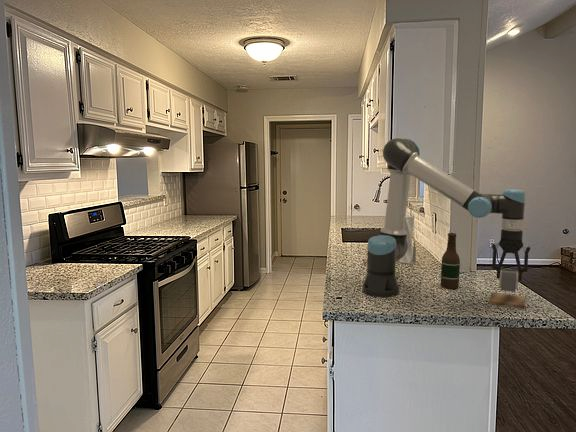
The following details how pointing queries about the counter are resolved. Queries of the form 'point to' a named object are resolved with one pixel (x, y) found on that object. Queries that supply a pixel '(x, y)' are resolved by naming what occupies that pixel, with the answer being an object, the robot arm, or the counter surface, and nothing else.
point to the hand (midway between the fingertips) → (508, 287)
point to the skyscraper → (409, 241)
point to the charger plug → (508, 281)
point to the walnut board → (507, 300)
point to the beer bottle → (450, 265)
